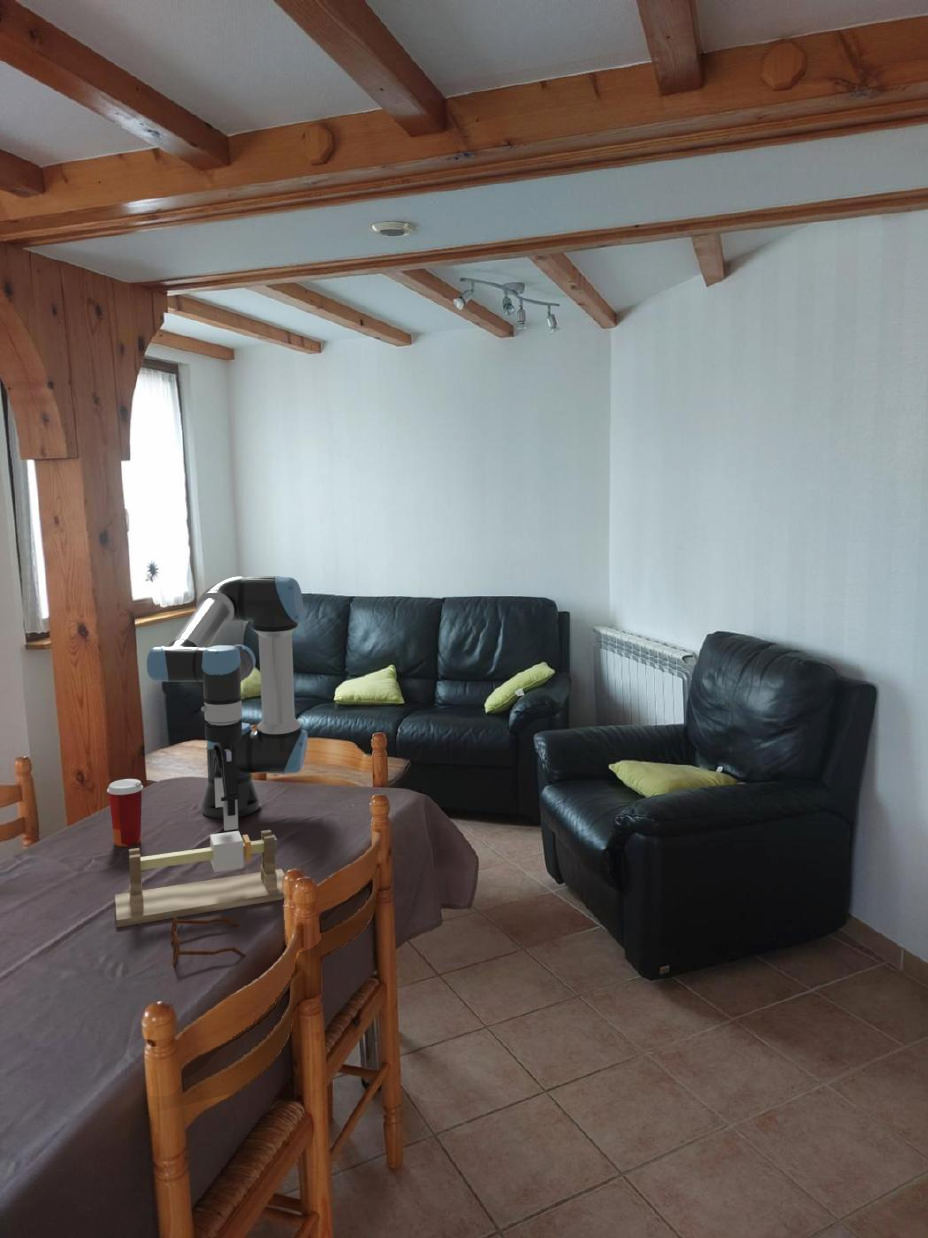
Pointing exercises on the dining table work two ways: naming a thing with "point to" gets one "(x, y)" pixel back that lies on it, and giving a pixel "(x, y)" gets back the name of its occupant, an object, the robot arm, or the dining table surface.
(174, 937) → the glasses
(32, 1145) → the dining table surface
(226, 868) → the sleeve
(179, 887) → the wooden rod stand
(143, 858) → the pale yellow long bar
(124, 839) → the coffee cup
